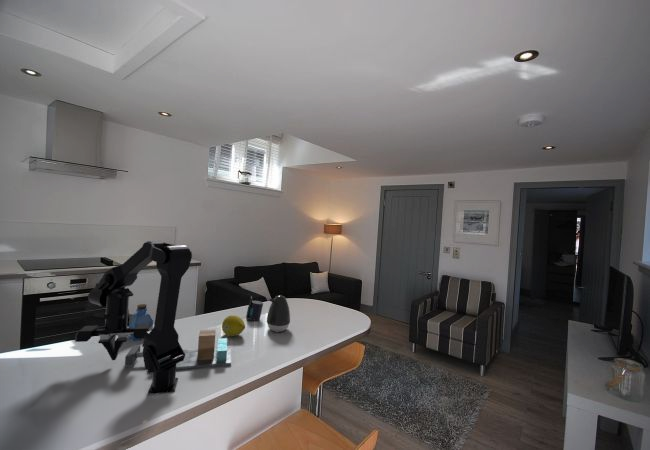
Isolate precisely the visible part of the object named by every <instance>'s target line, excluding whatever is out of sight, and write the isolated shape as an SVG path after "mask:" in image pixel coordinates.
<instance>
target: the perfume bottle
mask: <svg viewBox="0 0 650 450" xmlns="http://www.w3.org/2000/svg"><path fill="white" fill-rule="evenodd" d="M147 306H148V305H147V304H145V303H140V304H138V305H137V306H136V307H137V308H136V310H135V311H136V313H135V312H134V313H133V317H132V324H130V326H128V328H136V326H137V325H138V324H151V325H152V329H153V328H154V320H153V318H152V317H151V314H149V313H148V312H147V311H148V307H147ZM129 339H131V340H132V341H133V342H135V341H140V340H144V338H143V339H136V338H134V337H133V334H131V336H130V338H129Z"/></svg>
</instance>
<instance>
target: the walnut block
mask: <svg viewBox="0 0 650 450" xmlns="http://www.w3.org/2000/svg"><path fill="white" fill-rule="evenodd" d="M216 331H217V330H216V329H200V330H199V333H198V344H197V349H198V357H197V360H208V359H214V348H216V347H215V346H216V345H215V344H216Z"/></svg>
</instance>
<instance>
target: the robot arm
mask: <svg viewBox="0 0 650 450" xmlns="http://www.w3.org/2000/svg"><path fill="white" fill-rule="evenodd" d="M192 258H193V253H192V251H191V250H190V248H189V246H187V245H185V244H182V245H181V244H179V245H178V244H174V243H168V242H165V241H161V240H152V241H151V240H149V241H146V242H145V241H144V243H143V244H142V246H141V248H139V249H138V250H137V251H136V252H134V254H132V255H131V256H130V257H128V259H126V260H125V261H124V262H123V263H122V264H119V265H116V266H113V267H112V268H109V269H108V270H106V271H105V272H104V274H103V275H102V277H101V279H100V281H99V282H97V283H95V287H93V288H92V289H91V290H90V291H89V293H88V295H87V299H88V302H89V303H91V304H94V305H97V306H100V307H104V308H105V315H104V317H103V319H104V328H100V326H99V325H84V326H83V327H82V328H81V329H80V330H78V331H76V333H75V335H74V342H75V343H80V342H81V343H83V342H88V341H89V340H90V339H91V338H92V337H99V339H98V341H97V343H98V344H101V345H102V346H103V347H104V349H105V350H106V352H107V353H108V355H109V358H111V361H116V360H117V357H118V355H119V353H120V351H121V349H122V346H123V344H124V343H127V341H128V340H129V339H131V338H130V336H131V334H133V337H134V338H136V339H141V340H143V343H142V344H141V347H142V352H143V357H142V358H143V364H144V368H145V370H148V374H151V373H152V376H151V377H152V379H151V380H152V381H151V384H150V387H149V389H148V391H147V395H154V394H163V393H164V394H165V393H174V392H175V391H176V388H177V384H178V380H179V378H178V377H176V375H177V370H176V364H177V363H179V362H182V361H183V360H184V358H185V353H184V351H183V350H184V349H183V347H182V345H181V343H180V342H179V334H178V332H177V330H176V327H175V324H176V323H175V322H176V315H177V309H178V303H179V302H178V301H179V296H180V295H179V294H180V289H181V282H182V278H183V276H184V275H185V274H186V273H187V271H188V269H189V268H190V266H191V265H190V264H191V261H192ZM152 262H155V263H156V265H155V266H156V269H157V271H158V273H159V275H160V277H161V278H160V284H159V285H160V286H159V291H158V297H157V303H156V304H157V305H156V311H155V320H154V323H153V329H152V325H151V324H138V325H137V326H136V328H129V326H130V324H132V317H133V314H134V313H133V314H131V313H130V309H129V304H130V303H129V301H130V297H134V293H133V291H132V290H130V288H129V287H130V286H132V285H133V284H134V283H135V282H136V280H137V279H138V274H139V273H140V272H141V271H142V270H143V269H145V268H146V267H147V266H148V265H149V264H150V263H152ZM126 287H127V288H126ZM116 337H117V338H116ZM143 338H144V339H143ZM169 355H170V356H169ZM167 356H169V357H167ZM164 357H166V358H164ZM162 358H164V359H162ZM160 359H162V360H160ZM158 360H160V361H158Z"/></svg>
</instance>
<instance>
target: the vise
mask: <svg viewBox="0 0 650 450" xmlns="http://www.w3.org/2000/svg"><path fill="white" fill-rule="evenodd" d="M231 347H232V346H228V338H227V337H225V338H217V347H215V348H214V359H208V360H197V357H198V348H195V349H193V348H192V349H183V351H184V353H185V358H184V360H183V361H182V362H179V363H177V364H176V371H180V370H181V371H183V370H184V371H185V370H194V369H206V368H209V369H210V368H217V367H219V368H221V366H222V367H231V366H232V351H231V350H232V349H231ZM169 356H170V355H169ZM147 373H148V374H149V372H148V370H147Z"/></svg>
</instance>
